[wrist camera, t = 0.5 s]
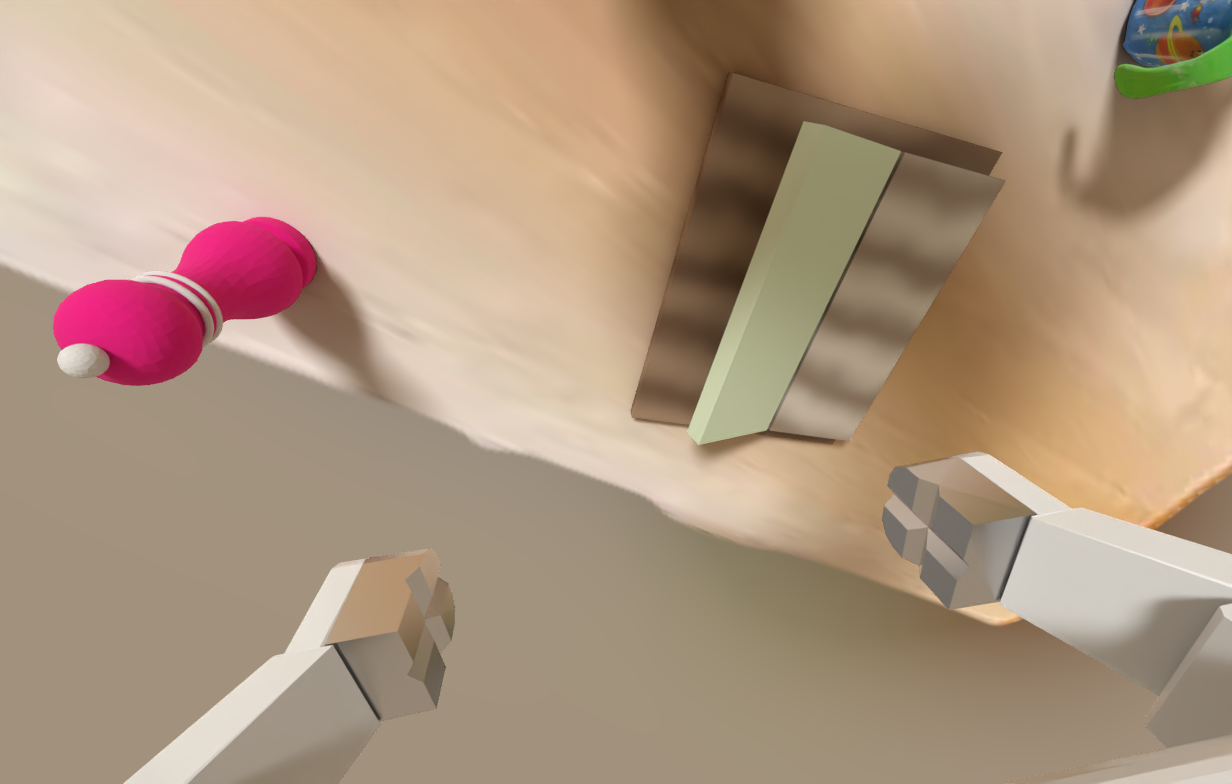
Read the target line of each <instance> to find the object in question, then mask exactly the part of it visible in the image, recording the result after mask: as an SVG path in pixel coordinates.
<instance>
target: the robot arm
mask: <svg viewBox="0 0 1232 784" xmlns="http://www.w3.org/2000/svg"><path fill="white" fill-rule="evenodd" d="M888 487H889V488H890V490H891V491H892V492H893V493H894V494H893V496H892V497H891V498H890V499H889V500H888V501H887V502H886V504H885V505H884V509H883V517H882V521H883V525H884V529H885V533H886V536H887V538H888V539H889V541H890V543H891V545H892V546H893V548H894V549H895V550H896V551H897V552H898V553H899V555H900V556H901V557H902V558H904V559H906V560H909V561H911V562H913V563H915V564H917V565H919V573H920V578H921V579H922V581H923V582H924V583H925V584H926V585H927V586H928V587H929V588H930V589H931V591H932V592H933V593H934V594H935V595H936V596H937V597H938V598H939V599H940V601H941V602H942V603H943V604H944V605H945V606H946V607H947V608H948V610H951V609H957V608H963V607H969V606H975V605H982V604H988V603H994V602H1000V604H999V605H1001V606H1003V607H1005V608H1006V609H1008V610H1010V611H1012V612H1013V613H1015V614H1017V615H1019V616H1020V617H1022V618H1024V619H1025V620H1027V621H1029V622H1031V623H1032V624H1034V625H1036V626H1038V627H1039V628H1041V629H1043V630H1045V631H1046V632H1048V633H1050V634H1052V635H1053V636H1055V637H1057V638H1059V639H1061V640H1062V641H1064V642H1065V643H1067V644H1069V645H1071V646H1072V647H1074V648H1076V649H1078V650H1079V651H1081V652H1083V653H1085V654H1087V655H1088V656H1090V657H1092V658H1093V659H1095V660H1097V661H1099V662H1100V663H1102V664H1104V665H1105V666H1107V667H1109V668H1111V669H1112V670H1114V671H1116V672H1118V673H1119V674H1121V675H1123V676H1125V677H1126V678H1128V679H1130V680H1132V681H1133V682H1135V683H1137V684H1138V685H1140V686H1142V687H1144V688H1146V689H1147V690H1149V691H1151V692H1152V693H1154V694H1156V695H1158V696H1159V697H1158V698H1157V700H1156V701H1155V703H1154V704H1153V706H1152V707H1151V709H1150V710H1149V711H1148V713H1147V714H1146V716H1145V724H1146V728H1147V729H1148V730H1149V731H1150V732H1151V733H1152V734H1153V735H1154V736H1155V737H1156V738H1157V739H1158V740H1159V741H1160V742H1161V743H1162V744H1163V745H1164V746H1165V747H1166V748H1164V749H1159V750H1155V751H1151V752H1145V753H1141V754H1136V755H1132V756H1127V757H1123V758H1118V759H1113V760H1109V761H1104V762H1099V763H1094V764H1090V765H1085V766H1081V767H1076V768H1071V769H1067V770H1062V771H1058V772H1053V773H1048V774H1044V775H1039V776H1034V777H1030V778H1026V779H1021V780H1016V781H1011V782H1007V783H1002V784H1232V554H1229V553H1226V552H1223V551H1219V550H1216V549H1213V548H1210V547H1206V546H1203V545H1200V544H1197V543H1194V542H1190V541H1187V540H1184V539H1181V538H1177V537H1174V536H1171V535H1168V534H1165V533H1162V532H1158V531H1155V530H1152V529H1149V528H1145V527H1142V526H1139V525H1136V524H1133V523H1129V522H1126V521H1123V520H1120V519H1117V518H1113V517H1110V516H1107V515H1104V514H1101V513H1097V512H1094V511H1091V510H1088V509H1084V508H1075V509H1071V508H1070V507H1068V506H1067V505H1065V504H1064V503H1062V502H1061V501H1059V500H1058V499H1056V498H1055V497H1053V496H1051V495H1050V494H1048V493H1047V492H1045V491H1044V490H1042V489H1041V488H1039V487H1038V486H1036V485H1035V484H1033V483H1032V482H1030V481H1029V480H1027V479H1026V478H1024V477H1023V476H1021V475H1020V474H1018V473H1017V472H1015V471H1014V470H1012V469H1010V468H1009V467H1007V466H1006V465H1004V464H1003V463H1001V462H1000V461H998V460H997V459H995V458H994V457H992V456H991V455H989V454H986V453H982V452H979V451H977V452H971V453H966V454H961V455H956V456H951V457H949V458H943V459H937V460H932V461H926V462H921V463H915V464H910V465H904V466H899V467H895V468H894V469H893V471H892V472H891V473H890V476H889V481H888ZM440 567H441V564H440V561H439V559H438V557H437V555H436V552H435V551H434V550H431V549H424V550H417V551H410V552H403V553H397V554H390V555H384V556H377V557H371V558H369V559H361V560H355V561H348V562H341V563H339V564H338V565H336V566H335V567H333V568H332V569H331V571H330V572H329V574H328V576H327V578H326V580H325V582H324V583H323V585H322V587H321V589H320V591H319V592H318V594H317V596H316V598H315V599H314V601H313V603H312V605H311V607H310V608H309V610H308V612H307V614H306V616H305V617H304V619H303V621H302V623H301V625H300V627H299V628H298V630H297V632H296V634H295V635H294V637H293V639H292V641H291V643H290V644H289V646H288V648H287V650H286V652H285V653H284V654H281V655H276V656H273V657H272V658H271V659H269V660H268V661H267V662H266V663H265V664H264V665H262V666H261V667H260V668H259V669H258V670H256V671H255V672H254V673H253V674H252V675H251V676H249V677H248V678H247V679H246V680H245V681H244V682H243V683H241V684H240V685H239V686H238V687H236V689H234V690H233V691H232V692H231V693H229V694H228V695H227V696H226V697H225V698H224V699H222V700H221V701H220V702H219V703H218V704H216V705H215V706H214V707H213V708H212V709H211V710H209V711H208V712H207V713H206V714H205V715H204V716H202V717H201V718H200V719H199V720H198V721H196V722H195V723H194V724H193V725H192V726H191V727H189V728H188V729H187V730H186V731H185V732H184V733H183V734H181V735H180V736H179V737H178V738H176V739H175V740H174V741H173V742H172V743H170V745H168V746H167V747H166V748H165V749H163V750H162V751H161V752H160V753H159V754H158V755H156V756H155V757H154V758H153V759H152V760H151V761H149V762H148V763H147V764H146V765H145V766H143V768H141V769H140V770H139V771H138V772H136V773H135V774H134V775H133V776H132V777H131V778H129V779H128V780H127V781H126V782H125V783H124V784H338V783H339V782H340V781H341V779H342V778H343V777H344V775H345V774H346V772H347V771H348V770H349V768H350V767H351V765H352V764H353V763H354V761H355V760H356V759H357V757H358V756H359V754H360V753H361V752H362V750H363V749H364V748H365V746H366V745H367V743H368V742H369V740H370V739H371V738H372V736H373V735H374V734H375V732H376V731H377V730H378V728H379V727H380V721H384V720H389V719H394V718H398V717H403V716H407V715H411V714H416V713H420V712H425V711H429V710H434V709H436V708H437V704H438V700H439V695H440V691H441V686H442V682H443V677H444V672H445V668H446V666H445V664H444V662H443V659H442V657H441V655H440V654H441V652H442V651H443V650H444V649H445V648H446V647H447V645H448V644H449V643H450V642H451V640H452V635H453V630H454V622H455V618H454V617H455V606H454V600H453V595H452V592H451V589H450V587H449V584H448V583H447V582H445V581H444V580H442V579H440V578H439V577H438V574H439V570H440Z"/></svg>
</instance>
